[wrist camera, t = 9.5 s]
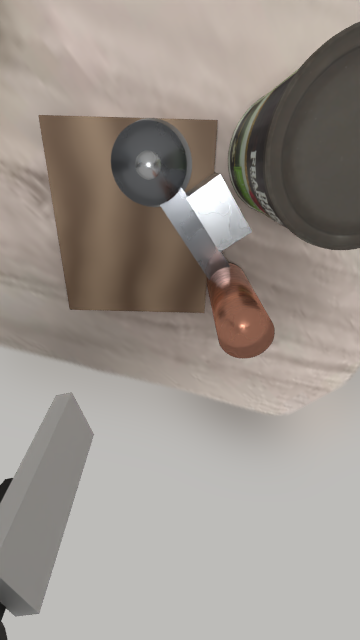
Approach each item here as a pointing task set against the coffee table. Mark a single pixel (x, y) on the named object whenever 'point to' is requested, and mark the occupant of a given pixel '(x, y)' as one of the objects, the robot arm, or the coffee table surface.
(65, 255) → the board
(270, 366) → the coffee table surface
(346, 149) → the coffee can
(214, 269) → the lever
